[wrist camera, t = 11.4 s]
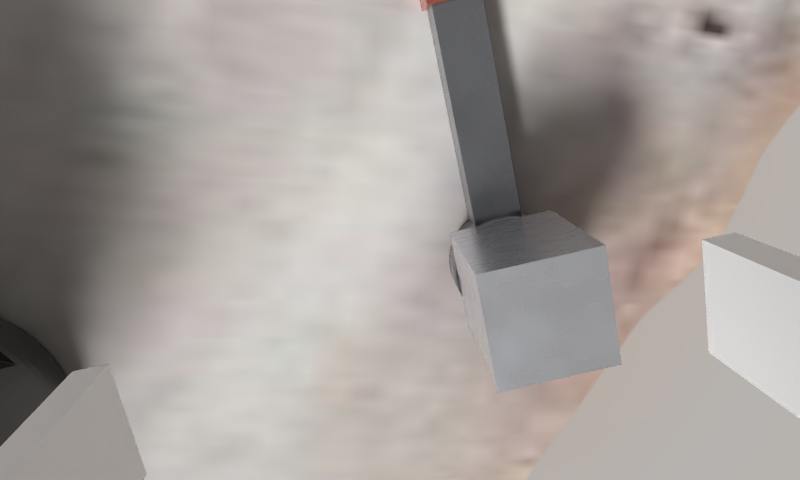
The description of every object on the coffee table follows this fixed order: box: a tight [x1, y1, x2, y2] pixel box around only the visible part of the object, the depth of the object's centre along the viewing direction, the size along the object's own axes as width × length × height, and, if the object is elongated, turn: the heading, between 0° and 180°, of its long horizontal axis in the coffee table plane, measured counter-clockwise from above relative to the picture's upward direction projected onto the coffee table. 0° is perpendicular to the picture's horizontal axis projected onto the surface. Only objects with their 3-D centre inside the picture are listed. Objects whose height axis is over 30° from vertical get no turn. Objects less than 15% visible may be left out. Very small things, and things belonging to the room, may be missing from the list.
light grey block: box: [450, 210, 621, 393], centre depth 32 cm, size 6×6×8 cm
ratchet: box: [420, 0, 526, 295], centre depth 32 cm, size 6×27×8 cm, turn 13°
